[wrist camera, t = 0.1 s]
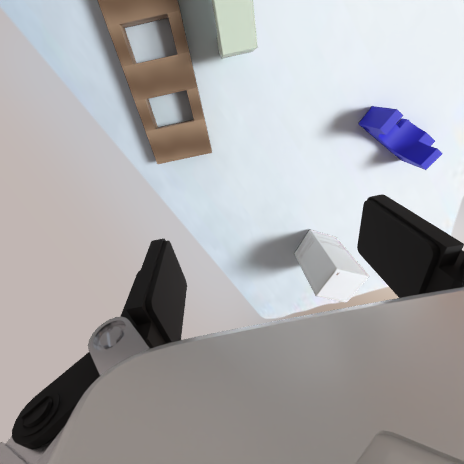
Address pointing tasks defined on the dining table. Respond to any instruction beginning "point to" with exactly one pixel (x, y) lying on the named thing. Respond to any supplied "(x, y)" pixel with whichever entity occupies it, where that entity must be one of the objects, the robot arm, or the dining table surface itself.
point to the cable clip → (400, 136)
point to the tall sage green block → (235, 27)
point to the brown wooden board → (159, 77)
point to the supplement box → (329, 267)
